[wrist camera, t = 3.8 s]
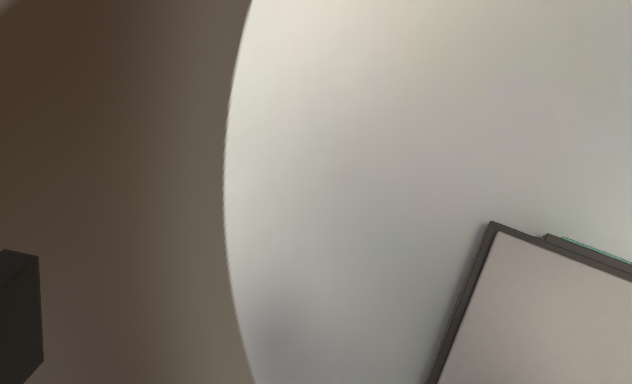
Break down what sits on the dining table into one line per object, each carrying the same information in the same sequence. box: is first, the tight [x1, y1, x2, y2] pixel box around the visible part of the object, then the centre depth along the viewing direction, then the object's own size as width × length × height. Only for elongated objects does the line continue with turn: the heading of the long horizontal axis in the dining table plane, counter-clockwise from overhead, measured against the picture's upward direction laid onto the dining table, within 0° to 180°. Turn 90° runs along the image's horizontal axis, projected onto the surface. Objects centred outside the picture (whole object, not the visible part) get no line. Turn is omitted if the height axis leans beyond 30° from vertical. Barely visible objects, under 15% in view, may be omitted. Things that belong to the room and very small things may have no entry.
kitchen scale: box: [425, 221, 632, 384], centre depth 30 cm, size 12×11×3 cm
